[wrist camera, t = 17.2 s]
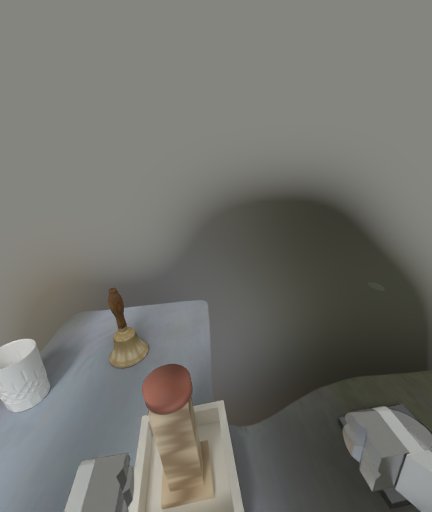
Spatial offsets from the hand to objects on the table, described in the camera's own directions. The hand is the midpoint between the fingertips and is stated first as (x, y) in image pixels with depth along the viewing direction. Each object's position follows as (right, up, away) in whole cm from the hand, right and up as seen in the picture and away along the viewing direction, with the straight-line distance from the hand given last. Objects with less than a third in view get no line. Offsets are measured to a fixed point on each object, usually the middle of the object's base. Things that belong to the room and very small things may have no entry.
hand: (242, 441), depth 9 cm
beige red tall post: (-5, -21, +23) cm, 31 cm away
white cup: (-36, -19, +38) cm, 56 cm away
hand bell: (-20, -15, +46) cm, 52 cm away
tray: (-4, -22, +23) cm, 32 cm away
